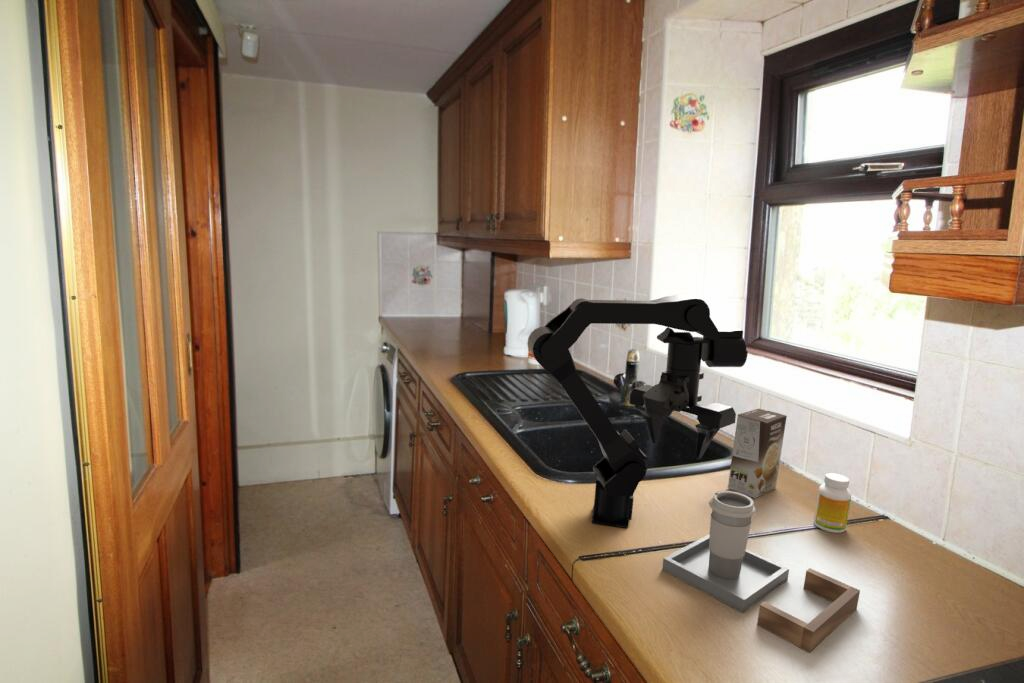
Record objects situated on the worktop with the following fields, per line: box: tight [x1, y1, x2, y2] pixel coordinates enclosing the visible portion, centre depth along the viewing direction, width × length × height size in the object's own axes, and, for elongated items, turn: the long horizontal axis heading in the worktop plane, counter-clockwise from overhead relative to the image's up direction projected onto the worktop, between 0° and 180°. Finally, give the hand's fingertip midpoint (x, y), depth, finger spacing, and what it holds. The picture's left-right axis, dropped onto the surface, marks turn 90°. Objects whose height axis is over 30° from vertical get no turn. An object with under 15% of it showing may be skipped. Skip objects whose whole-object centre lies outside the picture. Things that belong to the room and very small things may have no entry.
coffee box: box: [727, 408, 787, 499], centre depth 131 cm, size 9×6×16 cm
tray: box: [662, 533, 790, 613], centre depth 98 cm, size 14×14×2 cm
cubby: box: [756, 568, 861, 654], centre depth 89 cm, size 7×15×3 cm, turn 131°
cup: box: [708, 490, 757, 579], centre depth 97 cm, size 7×7×12 cm
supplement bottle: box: [813, 472, 852, 534], centre depth 116 cm, size 5×5×10 cm
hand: (676, 451), depth 114 cm, fingers open, 9 cm apart
